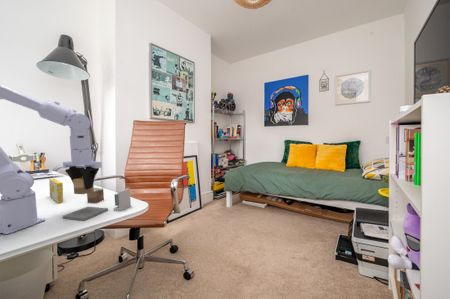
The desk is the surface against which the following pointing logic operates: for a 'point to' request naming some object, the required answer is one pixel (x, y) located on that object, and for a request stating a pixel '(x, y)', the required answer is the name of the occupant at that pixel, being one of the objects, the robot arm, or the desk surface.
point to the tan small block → (81, 186)
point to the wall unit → (122, 200)
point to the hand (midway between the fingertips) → (83, 188)
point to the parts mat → (85, 213)
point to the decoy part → (95, 195)
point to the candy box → (56, 190)
